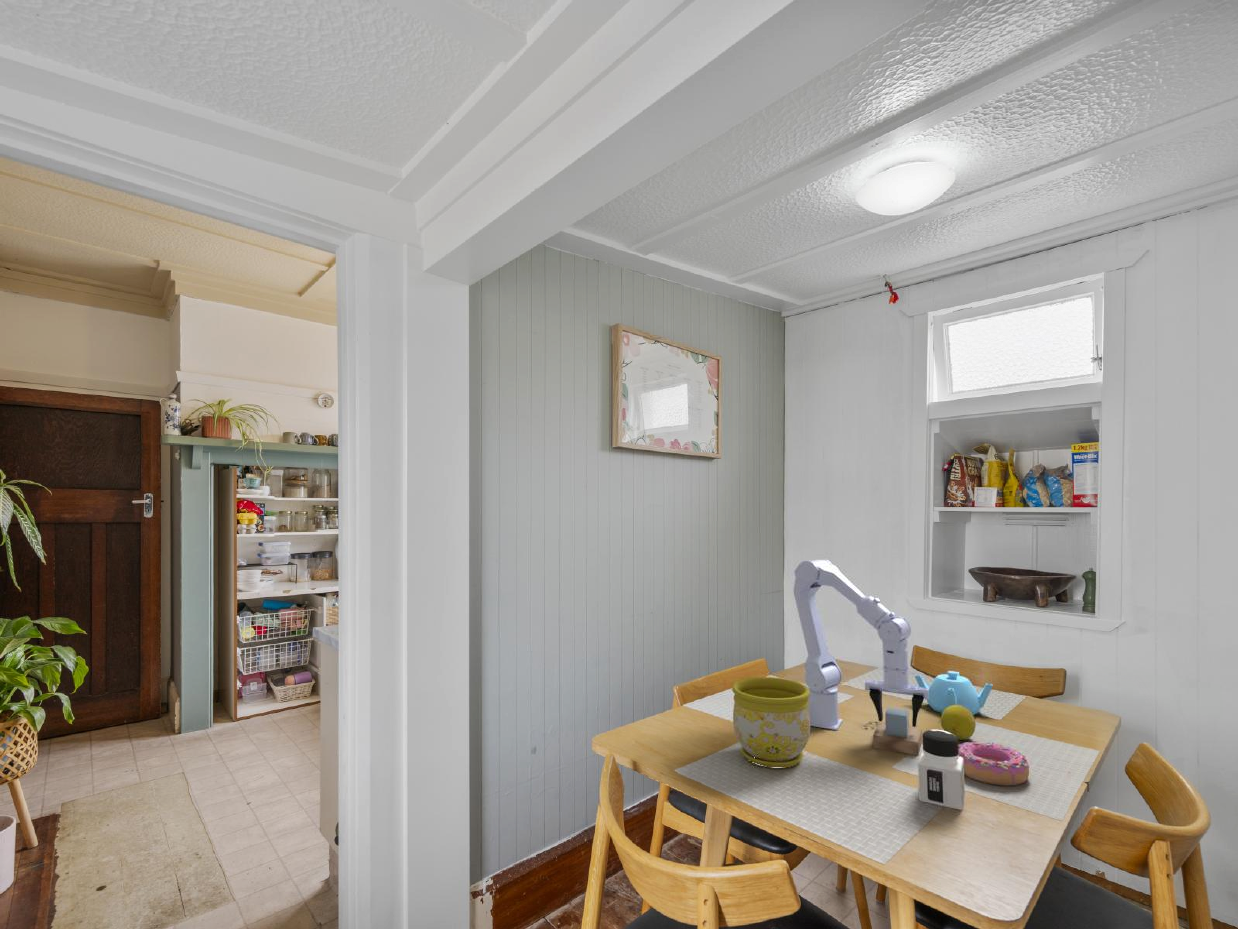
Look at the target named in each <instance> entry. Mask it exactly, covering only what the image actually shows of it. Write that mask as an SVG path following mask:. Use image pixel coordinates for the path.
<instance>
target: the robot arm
mask: <svg viewBox="0 0 1238 929" xmlns="http://www.w3.org/2000/svg"><path fill="white" fill-rule="evenodd" d="M794 576H795V580H794V585H793V586H794V587H793V595H794V599H795V604H796V608H797V609H796V610H797V612H798V617H799V621H800V626H801V629H802V630H801V631H802V634H803V637H804V638H803V639H804V642H805V647H806V651H807V654H808V655H807V658H806V660H805V662H804V667H805V668H804V669H805V672H804V682H805V684H806V686H807V687H808V688H809V690H810V696H809V697H808V698H807V699H808V701H809V705H808V709H809V715H810V727H816V728H821V729H822V728H823V729H828V730H835V731H837V730H838V729H839V728H840V726H841V724H842V723H843V718H839V694H838V692H839V691H838V689H839V684H841V682H842V680H843V673H842V671H841V668H840V667H839V665H838V664H837V662H836V661H837V660H836V658H835V656H833V654H831V653H830V651H829V648H828V644H827V640H826V636H825V631H824V628H823V623H822V620H821V619H822V618H821V616H820V611H819V607H818V604H817V599H816V594H817V592H818V591H819V589H820V588H821V587H822V586H827V587H832V588H834V589H835V591H837V592H838V593H840V594H841V595H842V596H844V597H845V599H847V600H848V601H850V602H851V603H852V604H853V605H854V606H855V607H856V612H857V614H858V615H859V616H860V617H862V618H863V619H864V620H865V621H866V622H867V623H868V624H869V625H871V626H872V627H873V629H875V630H876V631H877V634H878V637H879V639H880V640H881V641H882V664H883V667H882V668H883V669H882V670H883V681H881V680H879V681H877V680H865V681H864V690H865V691H869V693H868V694H869V698H870V700H871V701H872V702H873V705H874V708H875V711H876V714H877V718H878V722H881V723H883V719H884V715H883V713H884V712H883V692H884V693H892V694H900V695H906V696H912V697H911V708H912V710H911V711H912V718H911V719H912V720H911V721H912V723H911V724H912V728H917V722H918V721H917V720H918V719H917V718H918V714H919V712H920V709H921V707H922V705H923V703H924V700H925V699H924V698H929V688H923V687H919V685H914V684H909V683H910V682H909V681H910V680H909V656H908V654H909V650H908V649H909V648H908V638H909V637H910V636H911V633H912V629H911V626H910V624H909V622H908V621H907V620H906V618H904V617H902V616H896V613H895V612H893V611H892V612H891V611H890V610H889V609H887V607H886V606H884V605H883V604H881V602H882V601H881V600H880V598H878V597H874V596H866V595H864V594H863V593H862V592H861V590H859V588H857V586H855V585H854V584H853V583H852V582H851V581H850V580H849V579H848V578H847V577H846V576H845V575H844V574H843V573H842V572H841V571H840V570H839V568H838V566H836V565H834V564H832V563H831V561H830V560H828V559H826V558H818V559H814V560H803V561H801V562H800V563H799V564H798V565H797V567H795V570H794Z"/></svg>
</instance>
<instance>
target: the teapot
mask: <svg viewBox="0 0 1238 929" xmlns="http://www.w3.org/2000/svg"><path fill="white" fill-rule="evenodd" d="M946 673H947V674H946ZM946 673H945V674H939V675H937V676H936V677H934V679H933V680H932V682H931V684H930V685H929V686H928V684H927V682H926V681H925V679H924V678H923V676H922V675H921V674H915V675H914V678H915V680H916V683H917V686H918V687H923V688H929V698H924V700H926V702H927V704H928V705H929V707H930V708H931V709H932V710H933V711H935V712H937V713H939V712H940V714H942V713H943V711H944V710H945V709H946V708H947V707H949V706H952V705H960V706H963V707H965V708H966V709H968V710H969V711H970V712H971V714H972V715H973V716H976V715H977V714H978V713H979V712H980V710H981V709H982V708H984V706H985V704H986V701H987V699H988V697H989V695H990V693H991V691H992V688H993V684H992V683H985V685H984V687H983V688H982V690H981V691H980V692H979V693H978V691H977V689H976V688H975V686H974V685H973V684H972V682H971V681H970V680H969V678H967V677H965V676H962V675H960V671H954V670H948V671H946ZM975 714H976V715H975Z"/></svg>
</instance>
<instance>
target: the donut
mask: <svg viewBox="0 0 1238 929" xmlns="http://www.w3.org/2000/svg"><path fill="white" fill-rule="evenodd" d="M958 749H959V757H962V758H963V759H964V776H967V777H969V778H970V779H972V780H975V781H979V782H982V783H985V784H990V785H995V786H1016V785H1021V784H1023V783H1025V782H1026V781H1027V780H1028V779H1029V777H1030V776H1029V775H1030V764H1029V762H1028V760H1027V759H1026V756H1025V755H1023V754H1021V753H1020V752H1019V751H1017V750H1016V749H1013V748H1011V747H1008V746H1005V745H1002V744H998V743H996V744H995V743H994V742H982V741H981V742H979V741H978V742H977V741H971V742H970V741H968V742H963V743H960V744H959V743H958Z"/></svg>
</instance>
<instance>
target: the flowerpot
mask: <svg viewBox="0 0 1238 929" xmlns="http://www.w3.org/2000/svg"><path fill="white" fill-rule="evenodd" d="M731 691H732V693H733V694H734V695H733V701H734V703H733V710H732V712H733V713H732V721H733V722H732V724H733V729H734V730H733V731H734V734H735V736H736V739H737V740H738V742H739V743H740V746H741V748H740V752H741V754H742V755H743V756H745V759H746V758H747V759H748V760H750V761H752V762H754V763H757V764H760V765H763V766H766V767H789V768H792V767H795V766H796V765H798V764H799V762H800V761H801V760H802V759H803V758H804V753H803V750H804V749H805V747H806V746H807V745H808V741H809V739H810V734H811V726H810V715H809V709H808V705H809V701H808V699H807V698H808V697H809V696H810V690H809V687H808V686H807V685H805V684H803V683H801V682H798V681H796V680H791V679H789V678H788V679H787V678H782V677H781V678H780V677H771V676H756V677H755V676H754V677H746V678H743V679H739V680H737V681H735V682H734V683H733V684H732V686H731ZM754 757H755V758H754ZM747 759H746V760H747ZM748 760H747V761H748ZM797 763H798V764H797ZM794 765H795V766H794ZM791 766H792V767H791Z"/></svg>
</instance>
